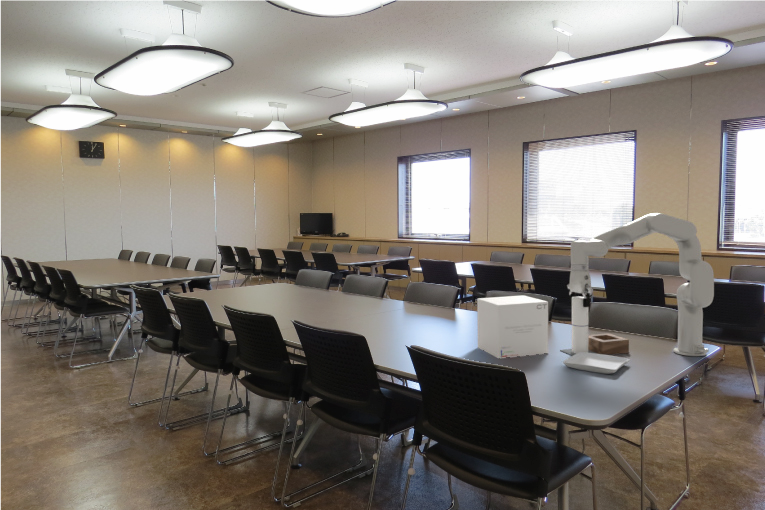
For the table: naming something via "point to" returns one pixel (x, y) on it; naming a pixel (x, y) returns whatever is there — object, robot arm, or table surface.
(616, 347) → the collar
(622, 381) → the table surface
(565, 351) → the mat
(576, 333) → the cylindrical container
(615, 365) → the salad plate
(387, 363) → the table surface
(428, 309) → the table surface
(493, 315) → the cube
